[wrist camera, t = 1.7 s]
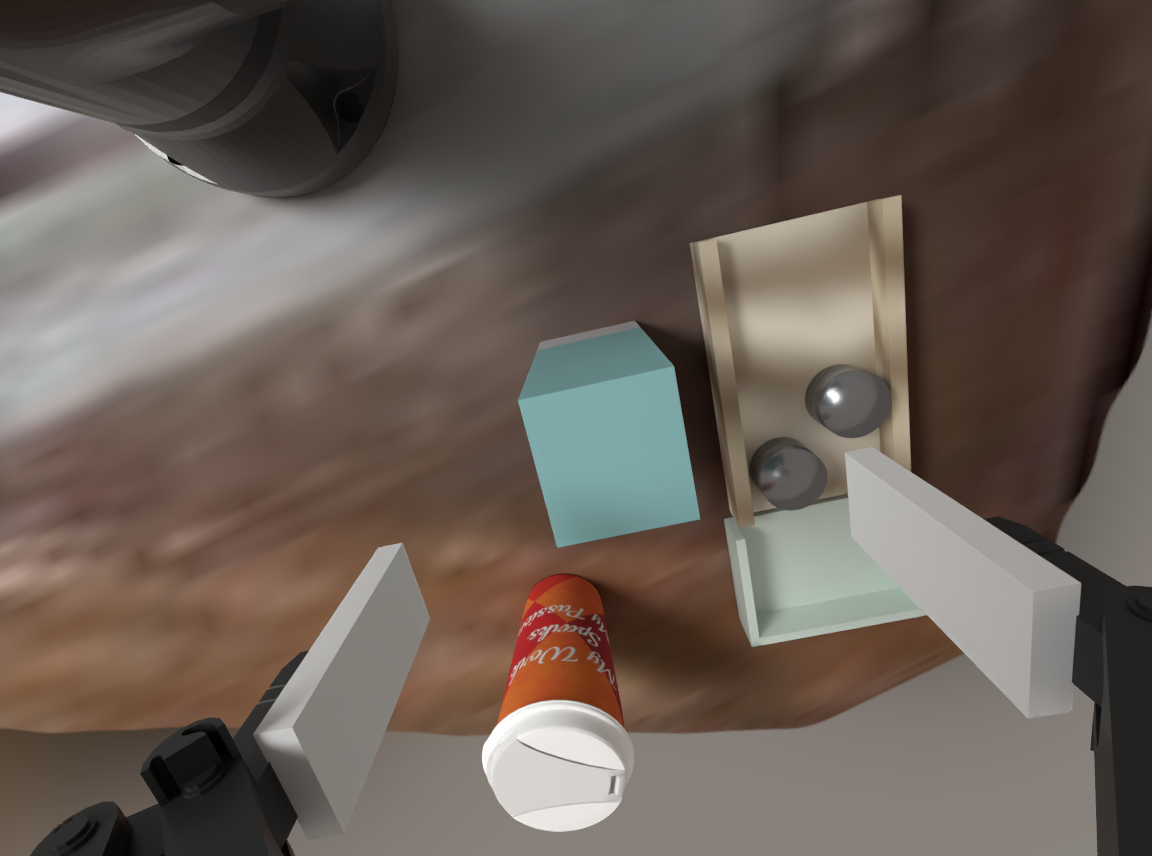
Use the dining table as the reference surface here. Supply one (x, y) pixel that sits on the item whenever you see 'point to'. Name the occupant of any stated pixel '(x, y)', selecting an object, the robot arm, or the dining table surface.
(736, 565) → the tray
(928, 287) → the dining table surface
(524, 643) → the paper cup
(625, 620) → the dining table surface
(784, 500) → the chip
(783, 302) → the slot board
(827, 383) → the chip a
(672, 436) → the teal tall block
